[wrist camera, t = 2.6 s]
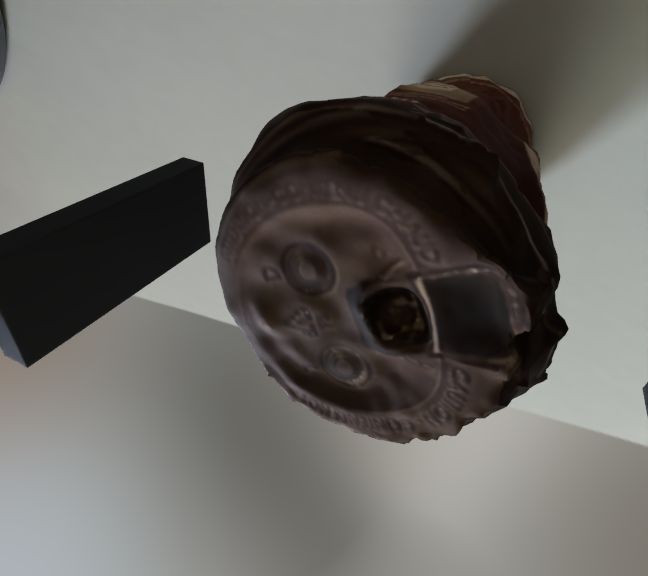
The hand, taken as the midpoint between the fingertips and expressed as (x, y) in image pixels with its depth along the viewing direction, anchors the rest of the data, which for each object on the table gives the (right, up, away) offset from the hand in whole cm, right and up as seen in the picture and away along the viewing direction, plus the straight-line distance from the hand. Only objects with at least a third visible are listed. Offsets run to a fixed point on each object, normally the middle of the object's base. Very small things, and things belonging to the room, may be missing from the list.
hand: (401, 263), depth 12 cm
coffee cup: (+4, +5, +7) cm, 10 cm away
